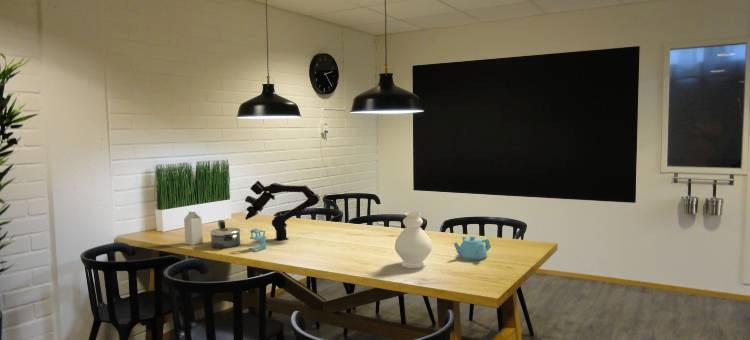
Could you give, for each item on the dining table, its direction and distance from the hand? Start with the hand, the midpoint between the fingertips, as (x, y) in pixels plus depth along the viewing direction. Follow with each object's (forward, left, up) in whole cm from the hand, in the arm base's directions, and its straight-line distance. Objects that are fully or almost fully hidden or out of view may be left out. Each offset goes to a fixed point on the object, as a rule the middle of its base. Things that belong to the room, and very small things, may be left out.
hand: (245, 219), depth 318 cm
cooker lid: (0, +14, -6) cm, 15 cm away
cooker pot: (-1, +15, -13) cm, 19 cm away
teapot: (-126, -54, -13) cm, 137 cm away
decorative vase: (-113, -25, -13) cm, 116 cm away
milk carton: (+17, +25, -13) cm, 33 cm away
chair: (-27, +8, -13) cm, 31 cm away
